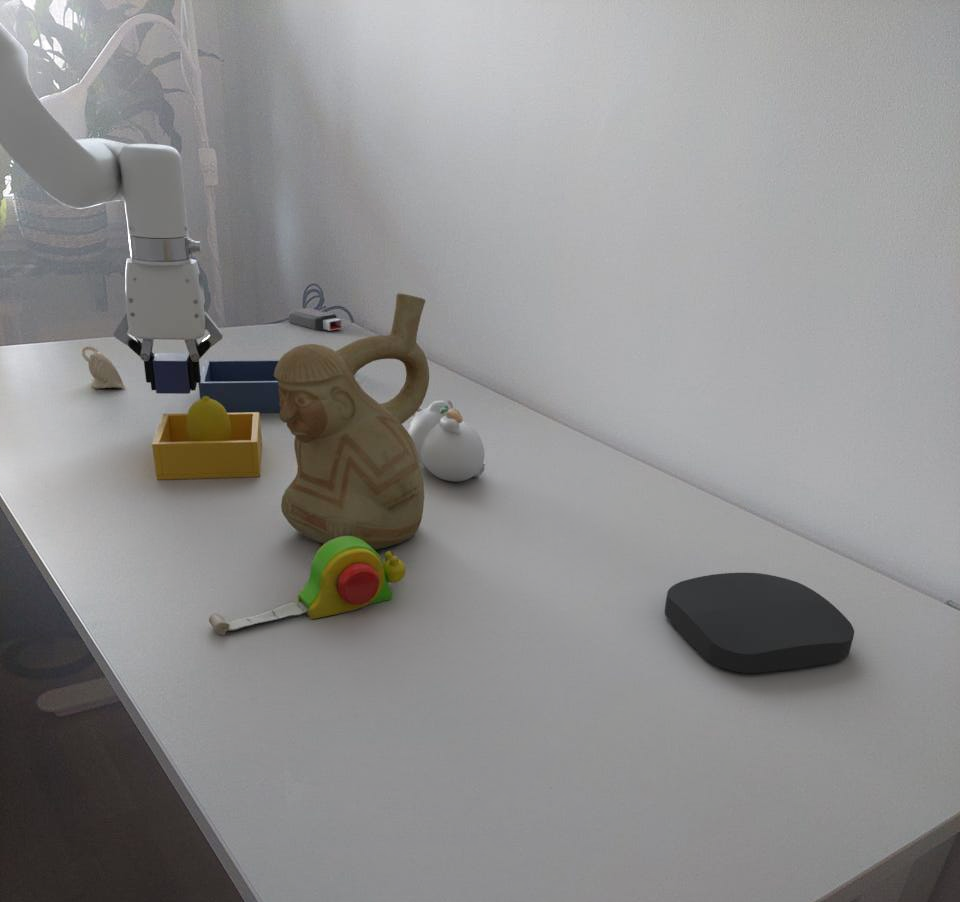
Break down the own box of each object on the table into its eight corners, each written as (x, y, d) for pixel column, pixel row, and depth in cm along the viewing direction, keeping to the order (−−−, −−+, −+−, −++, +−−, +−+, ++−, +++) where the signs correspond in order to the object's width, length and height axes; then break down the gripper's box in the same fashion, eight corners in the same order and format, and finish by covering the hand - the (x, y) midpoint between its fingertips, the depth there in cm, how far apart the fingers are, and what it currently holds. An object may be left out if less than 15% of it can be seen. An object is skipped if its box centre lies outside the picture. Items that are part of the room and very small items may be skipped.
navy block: (156, 393, 134) (152, 360, 132) (159, 384, 138) (156, 352, 135) (189, 393, 135) (186, 361, 132) (192, 384, 139) (189, 353, 136)
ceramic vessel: (245, 532, 108) (223, 298, 95) (380, 490, 120) (376, 278, 107) (340, 583, 97) (329, 329, 85) (477, 532, 110) (485, 303, 97)
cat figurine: (482, 417, 116) (427, 372, 127) (429, 456, 116) (378, 408, 126) (510, 473, 123) (455, 426, 133) (460, 510, 123) (409, 460, 133)
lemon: (181, 456, 127) (174, 395, 123) (218, 447, 130) (212, 388, 126) (205, 467, 123) (198, 405, 119) (242, 457, 127) (236, 397, 123)
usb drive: (308, 319, 204) (308, 305, 202) (345, 329, 197) (345, 315, 195) (288, 322, 200) (287, 308, 199) (325, 332, 193) (325, 318, 192)
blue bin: (201, 413, 145) (198, 383, 142) (207, 388, 156) (204, 360, 154) (294, 412, 147) (292, 382, 145) (293, 387, 158) (291, 359, 156)
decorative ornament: (100, 392, 152) (95, 358, 150) (83, 380, 158) (77, 347, 155) (126, 389, 154) (121, 355, 152) (108, 377, 160) (103, 344, 157)
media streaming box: (722, 682, 84) (727, 652, 82) (650, 605, 96) (654, 577, 94) (866, 662, 87) (874, 633, 86) (779, 590, 100) (785, 564, 98)
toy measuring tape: (419, 603, 94) (419, 542, 91) (222, 648, 86) (215, 582, 82) (391, 577, 99) (390, 518, 96) (202, 617, 90) (194, 553, 87)
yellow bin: (157, 479, 121) (152, 444, 118) (167, 447, 131) (162, 413, 129) (260, 476, 123) (257, 441, 120) (262, 444, 133) (259, 412, 131)
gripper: (227, 247, 132) (237, 381, 141) (97, 243, 129) (115, 380, 138) (224, 256, 125) (235, 395, 134) (87, 252, 122) (107, 395, 131)
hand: (174, 386), depth 136 cm, fingers closed on navy block, 4 cm apart
